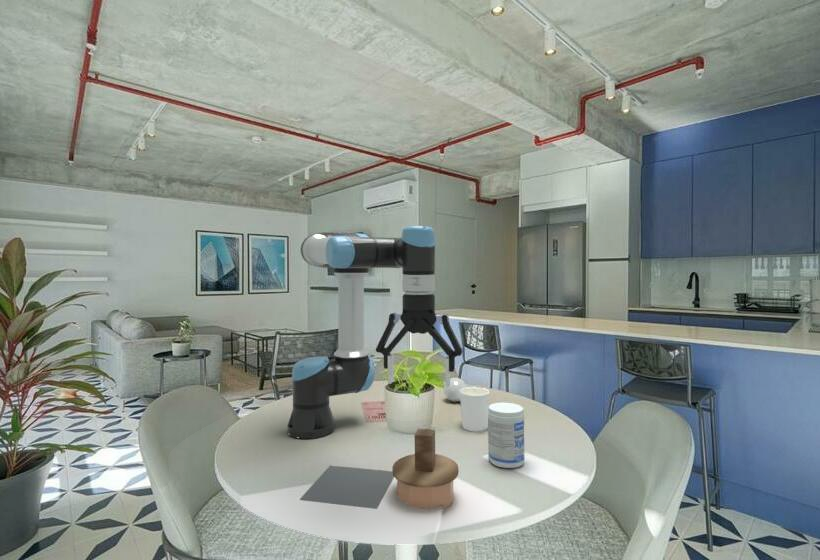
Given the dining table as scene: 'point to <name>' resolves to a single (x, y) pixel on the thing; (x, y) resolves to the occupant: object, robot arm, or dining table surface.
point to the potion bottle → (455, 389)
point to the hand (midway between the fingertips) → (418, 383)
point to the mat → (350, 487)
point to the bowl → (426, 495)
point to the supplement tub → (506, 435)
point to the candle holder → (474, 408)
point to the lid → (425, 464)
